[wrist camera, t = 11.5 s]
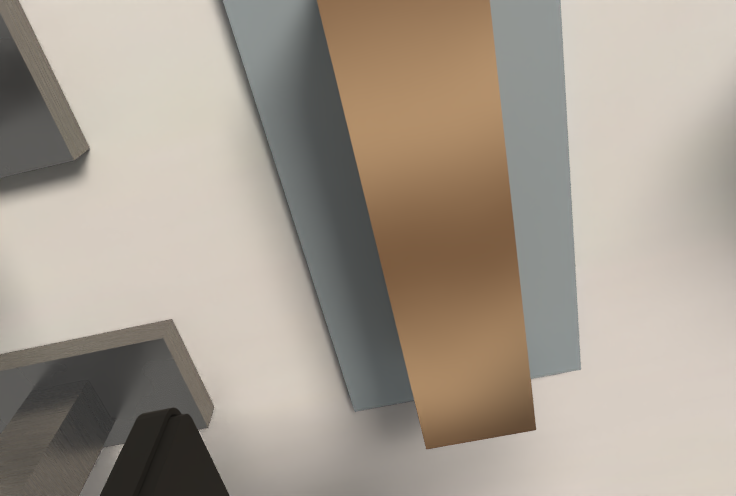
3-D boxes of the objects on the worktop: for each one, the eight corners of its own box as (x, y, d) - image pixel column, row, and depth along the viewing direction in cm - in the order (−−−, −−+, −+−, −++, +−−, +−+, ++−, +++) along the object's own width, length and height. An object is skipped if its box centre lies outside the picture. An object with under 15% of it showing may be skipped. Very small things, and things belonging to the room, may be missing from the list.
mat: (575, 360, 20) (580, 369, 19) (354, 401, 20) (354, 411, 20) (542, -197, 12) (549, -203, 12) (194, -104, 13) (189, -105, 13)
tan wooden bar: (501, 338, 19) (535, 430, 15) (412, 354, 19) (426, 449, 15) (446, -68, 13) (482, -71, 9) (320, -36, 13) (309, -28, 10)
